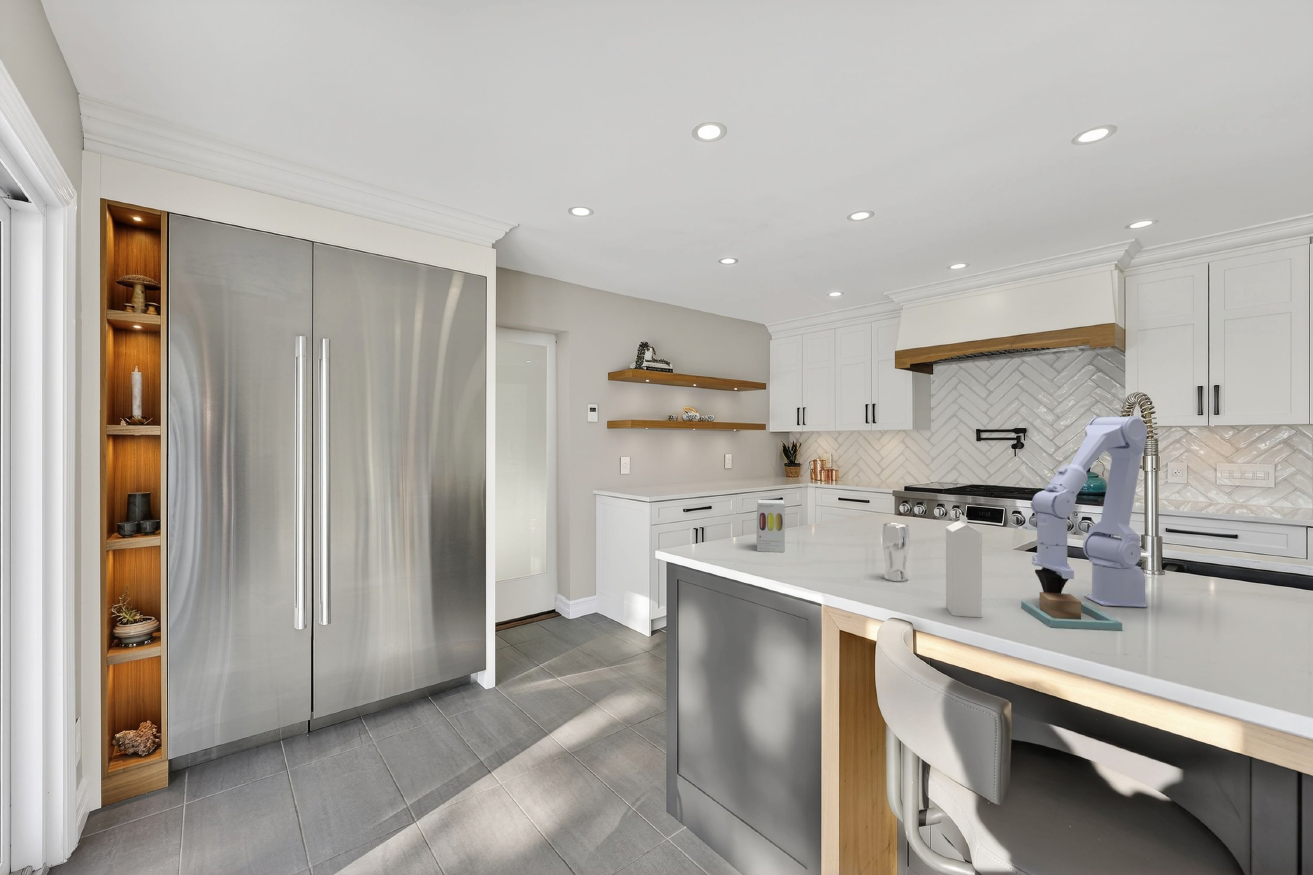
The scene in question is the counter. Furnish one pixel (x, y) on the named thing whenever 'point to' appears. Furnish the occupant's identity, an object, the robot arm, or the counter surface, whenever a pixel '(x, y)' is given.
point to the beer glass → (895, 551)
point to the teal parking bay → (1101, 623)
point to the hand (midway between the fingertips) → (1052, 602)
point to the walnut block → (1060, 605)
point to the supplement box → (771, 526)
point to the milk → (963, 569)
